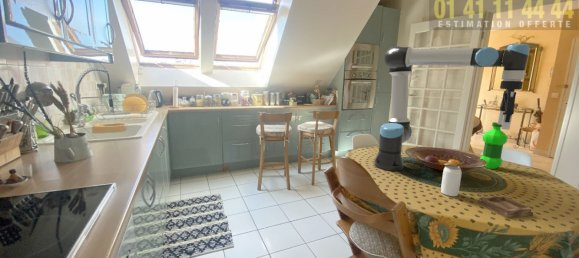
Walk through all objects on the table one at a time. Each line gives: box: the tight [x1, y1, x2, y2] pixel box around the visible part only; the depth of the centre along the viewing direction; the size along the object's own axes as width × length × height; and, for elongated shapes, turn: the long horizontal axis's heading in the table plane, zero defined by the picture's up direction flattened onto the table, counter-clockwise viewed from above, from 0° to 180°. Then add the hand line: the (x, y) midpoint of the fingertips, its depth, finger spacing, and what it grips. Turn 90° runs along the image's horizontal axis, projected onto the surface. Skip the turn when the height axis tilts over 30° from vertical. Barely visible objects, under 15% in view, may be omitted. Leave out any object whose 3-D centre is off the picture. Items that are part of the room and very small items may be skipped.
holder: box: [477, 195, 534, 219], centre depth 97 cm, size 12×12×2 cm
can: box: [440, 164, 462, 198], centre depth 109 cm, size 6×6×12 cm
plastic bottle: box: [479, 121, 508, 170], centre depth 139 cm, size 10×10×25 cm
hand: (503, 126), depth 119 cm, fingers open, 13 cm apart
